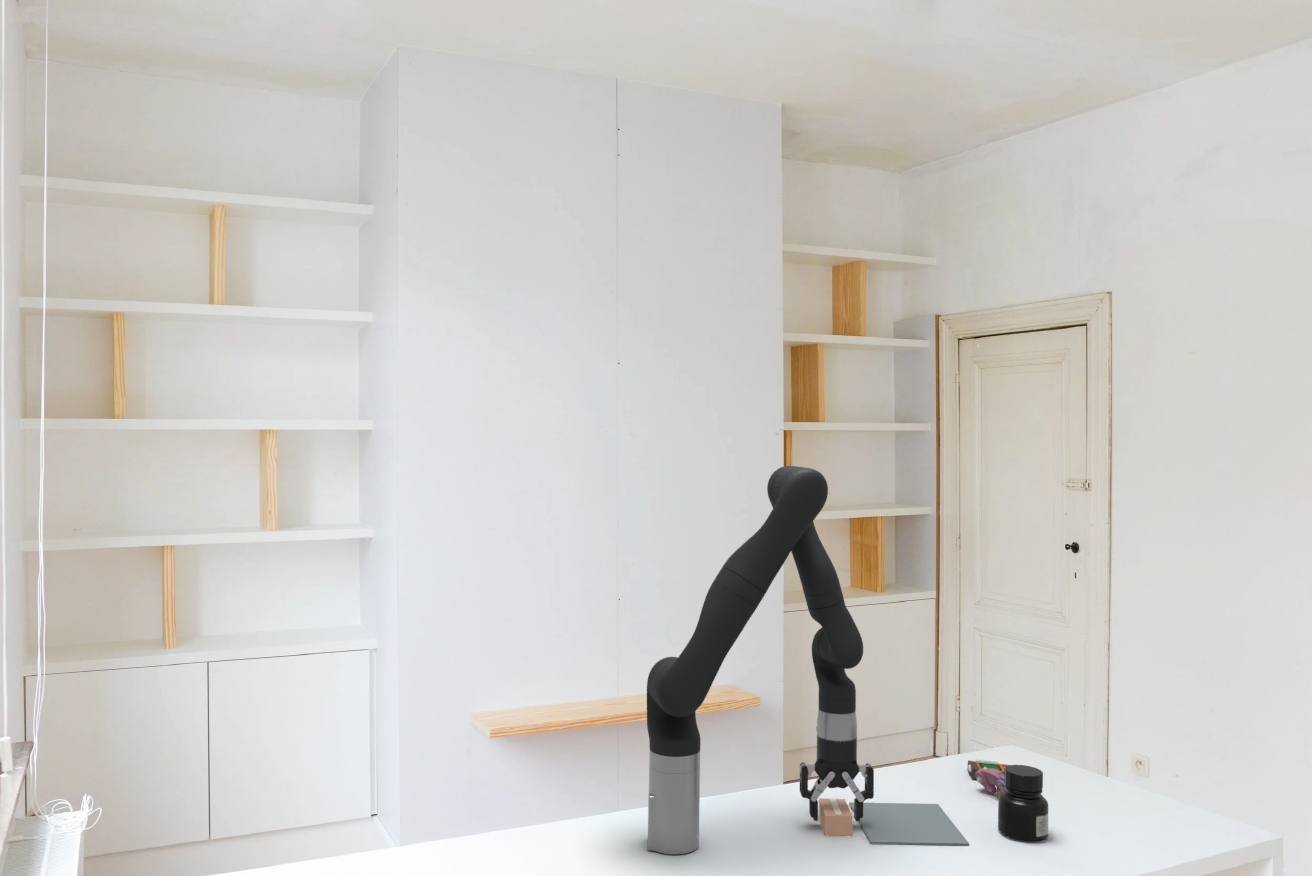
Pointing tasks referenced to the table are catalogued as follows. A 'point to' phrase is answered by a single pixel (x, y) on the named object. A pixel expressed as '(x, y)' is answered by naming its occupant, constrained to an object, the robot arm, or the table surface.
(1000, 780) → the video game controller
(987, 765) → the electronic device
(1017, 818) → the ink bottle
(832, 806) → the box
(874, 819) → the mat
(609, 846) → the table surface
